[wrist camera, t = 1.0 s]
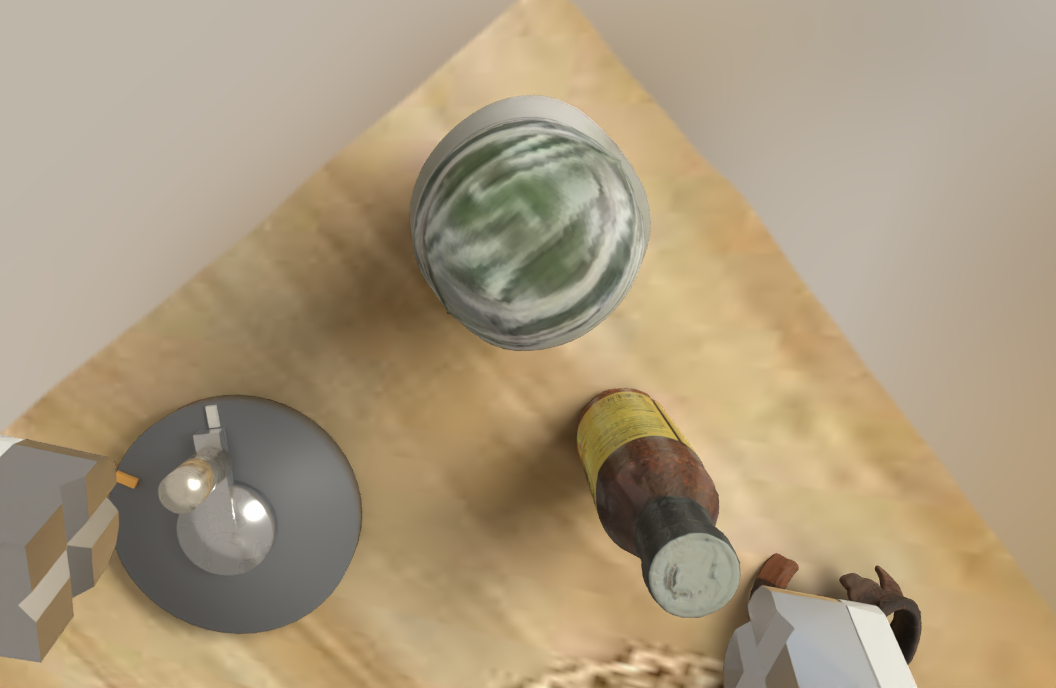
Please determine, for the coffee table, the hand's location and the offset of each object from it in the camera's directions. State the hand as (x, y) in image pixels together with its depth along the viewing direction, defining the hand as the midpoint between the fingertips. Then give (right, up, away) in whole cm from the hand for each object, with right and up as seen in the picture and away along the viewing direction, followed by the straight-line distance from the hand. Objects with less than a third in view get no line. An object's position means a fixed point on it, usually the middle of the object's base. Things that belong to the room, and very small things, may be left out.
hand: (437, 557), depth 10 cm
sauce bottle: (+8, -3, +43) cm, 44 cm away
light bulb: (-18, -7, +41) cm, 45 cm away
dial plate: (-18, -9, +44) cm, 48 cm away
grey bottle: (+1, +11, +40) cm, 42 cm away
